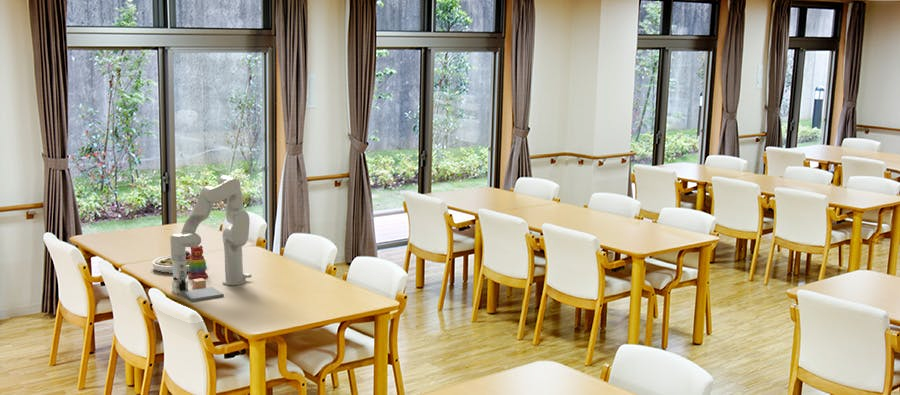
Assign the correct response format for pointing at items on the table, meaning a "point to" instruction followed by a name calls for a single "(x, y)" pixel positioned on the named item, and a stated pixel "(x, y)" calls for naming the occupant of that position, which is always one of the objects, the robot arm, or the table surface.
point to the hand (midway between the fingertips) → (179, 288)
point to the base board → (202, 294)
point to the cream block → (176, 286)
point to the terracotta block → (198, 283)
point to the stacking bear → (197, 263)
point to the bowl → (169, 263)
